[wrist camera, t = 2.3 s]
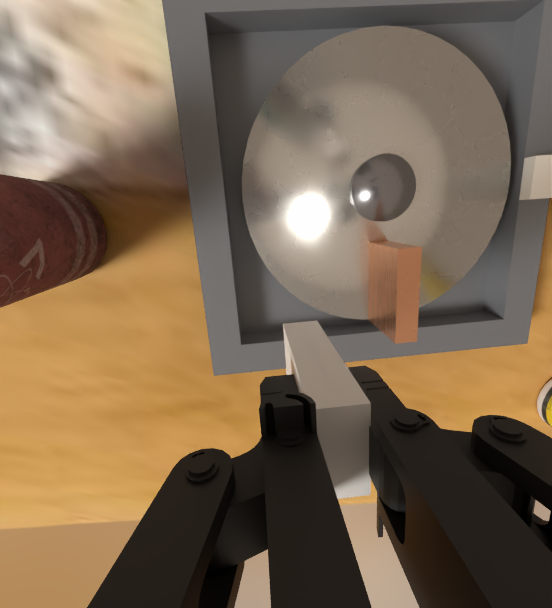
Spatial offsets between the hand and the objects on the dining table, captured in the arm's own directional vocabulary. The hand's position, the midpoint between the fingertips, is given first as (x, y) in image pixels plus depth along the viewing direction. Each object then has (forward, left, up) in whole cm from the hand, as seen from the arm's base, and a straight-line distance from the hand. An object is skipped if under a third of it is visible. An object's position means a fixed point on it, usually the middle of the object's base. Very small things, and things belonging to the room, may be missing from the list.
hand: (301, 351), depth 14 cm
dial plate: (-7, +6, -10) cm, 13 cm away
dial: (-7, +6, -8) cm, 12 cm away
